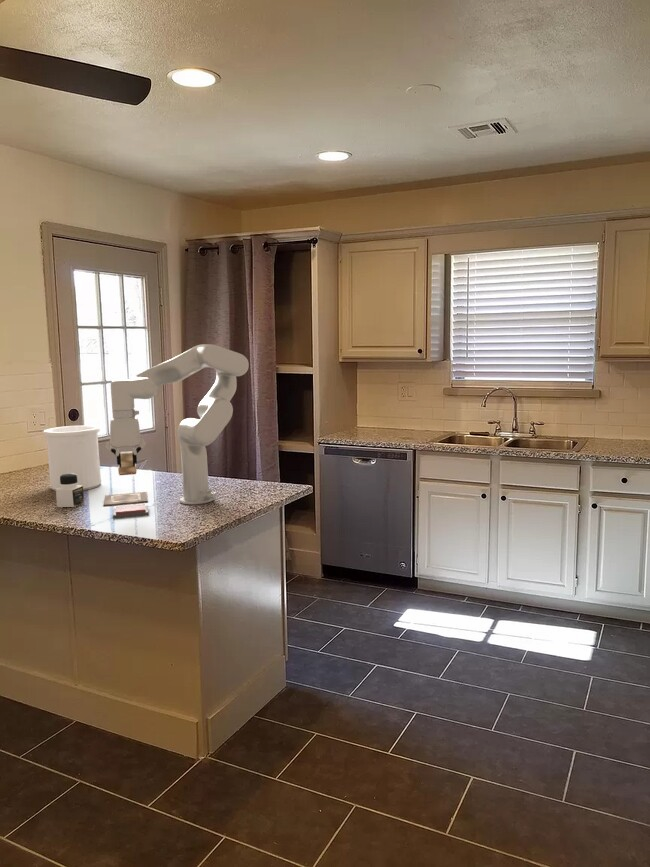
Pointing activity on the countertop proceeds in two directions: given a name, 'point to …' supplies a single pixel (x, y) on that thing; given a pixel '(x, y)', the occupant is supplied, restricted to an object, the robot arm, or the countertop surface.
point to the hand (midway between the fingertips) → (127, 465)
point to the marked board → (125, 498)
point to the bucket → (74, 455)
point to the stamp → (127, 464)
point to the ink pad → (130, 511)
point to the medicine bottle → (69, 491)
